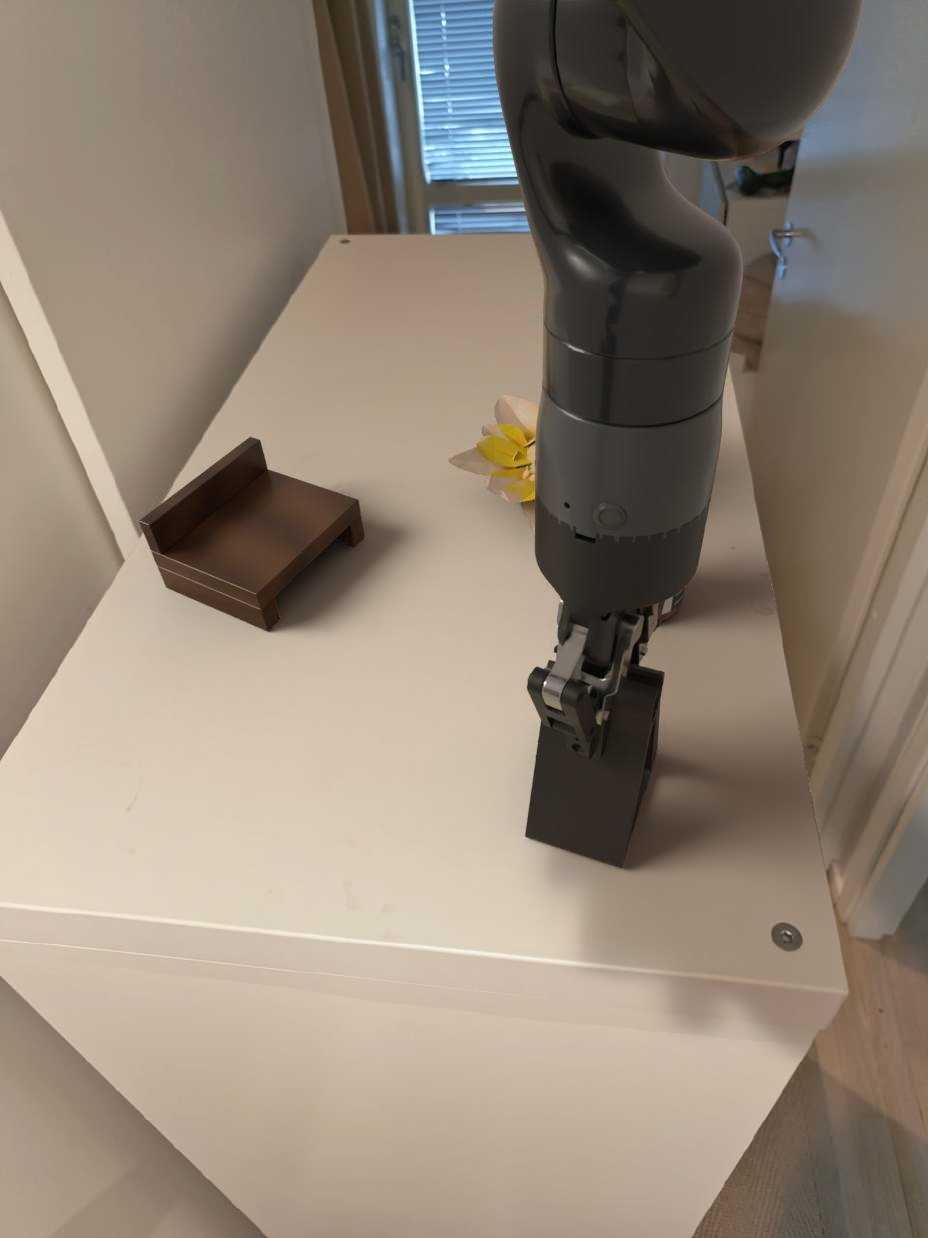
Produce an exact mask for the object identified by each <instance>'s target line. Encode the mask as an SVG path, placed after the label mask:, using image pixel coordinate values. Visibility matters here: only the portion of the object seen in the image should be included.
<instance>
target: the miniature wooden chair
mask: <svg viewBox="0 0 928 1238" xmlns="http://www.w3.org/2000/svg"><path fill="white" fill-rule="evenodd" d="M363 522H364V521H363V518H362V511H361V505H360V500H359V499H358V498H355V497H352V496H349V495H347V494H342V493H341V492H338V491H334V490H331V489H328V488H326V487H323V486H319V485H316V484H313V483H310V482H308V481H304V480H301V479H298V478H295V477H293V476H289V475H288V474H287V475H286V474H284V473H280V472H277V471H274V470H272V469H269V468H268V463H267V460H266V457H265V452H264V448H263V445H262V442H261V439H259V438H257V437H253V436H249V437H248V438H246V439H245V440H243V441H242V442H241V443H240V444H238V445H237V446H235V447H234V448H233V449H231V450H230V451H229V452H228V453H226V454H225V455H224V456H222V457H221V458H219V460H217V461H216V462H214V463H213V464H212V465H211V466H209V467H208V468H207V469H205V470H204V471H203V472H201V473H200V474H199V475H197V476H196V477H194V479H192V480H191V481H189V482H188V483H187V484H185V485H184V486H183V487H181V488H180V489H179V490H177V491H176V492H175V493H173V494H172V495H170V496H169V497H168V498H166V499H165V500H163V502H162V503H160V504H159V505H157V506H156V507H155V508H154V509H152V510H151V511H149V512H148V513H147V514H145V515H144V516H143V517H142V518H140V519H139V520H138V523H139V526H140V528H141V531H142V533H143V535H144V538H145V540H146V543H147V545H148V547H149V550H150V552H151V555H152V557H153V559H154V562H155V564H156V566H157V569H158V572H159V574H160V576H161V579H162V581H163V584H164V586H165V588H166V589H169V590H170V591H173V592H174V593H178V594H179V595H183V596H185V597H187V598H189V599H191V600H194V601H196V602H198V603H200V604H203V605H205V606H208V607H210V608H212V609H215V610H216V611H219V612H221V613H223V614H225V615H228V616H231V617H232V618H235V619H238V620H240V621H242V622H245V623H247V624H250V626H251V625H252V626H254V627H256V628H259V629H261V630H263V631H266V632H270V631H271V629H273V628H274V626H276V625H277V623H279V621H281V620H282V619H281V615H280V611H279V607H278V605H277V601H276V598H275V597H276V596H277V595H278V594H279V593H280V592H282V590H284V589H285V588H286V587H287V585H289V584H290V583H291V582H292V581H293V580H294V579H295V578H296V577H297V576H298V575H299V574H300V573H301V572H302V571H303V570H305V569H306V568H307V566H308V565H310V564H311V563H312V562H313V561H314V560H315V559H316V558H317V557H318V556H319V555H320V554H322V552H323V551H324V550H326V548H327V547H328V546H330V545H331V544H332V543H333V542H334V541H337V542H340V543H342V544H345V545H348V546H351V547H356V546H357V545H359V543H360V542H361V541H362V540H363V539H364V538H365V536H366V534H365V529H364V523H363Z"/></svg>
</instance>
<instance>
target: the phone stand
mask: <svg viewBox="0 0 928 1238" xmlns="http://www.w3.org/2000/svg"><path fill="white" fill-rule="evenodd" d="M557 648H558V644H556V645H555V646H554V648H553V653H555V654H557ZM555 662H556V660H553V659H552V660H551V659H548V661H547V664H546V667H547V668H550V669H552V668H553V666H554V664H555ZM608 667H612V665H611V664H610V665H608ZM665 675H666V673H665V671H662V670H658V669H654V668H651V667H646V666H643V665H640V664H639V665H635V664H631V663H630V664H629V668H628V673H627V678H626V680H625V682H624V683H623V684H622V686H621V687H620V689H619V690H618V691H617V693H616V694H615V695H613V698H612V703H611V708H610V712H611V713H610V716H609V723H608V733H607V742H606V749H605V751H604V753H603V755H602V757H601V758H600V760H592V759H591V760H588V759H586V758H584V757H581V756H579V755H577V754H574V753H572V752H570V751H567V750H566V746H565V744H564V736H565V733H564V732H562V731H559V730H557V729H554V728H549V727H547V726H545V725H543V723H542V721H541V720H540V723H539V724H540V725H539V731H538V739H537V745H536V754H535V762H534V767H533V774H532V775H533V776H532V782H531V789H530V795H529V796H530V797H529V804H528V811H527V819H526V825H525V833H524V837H525V838H528V839H530V840H533V841H535V842H539V843H543V844H545V845H548V846H550V847H551V846H552V847H554V848H557V849H561V850H564V851H567V852H570V853H573V854H576V855H579V856H582V857H586V858H588V859H592V860H595V861H598V862H599V863H600V862H601V863H603V864H607V865H610V866H612V867H616V868H619V869H623V865H624V862H625V858H626V855H627V852H628V849H629V846H630V842H631V839H632V836H633V832H634V829H635V826H636V822H637V819H638V816H639V812H640V808H641V806H642V802H643V800H644V796H645V793H646V790H647V786H648V783H649V780H650V776H651V774H652V770H653V766H654V764H655V761H656V758H657V757H656V756H657V752H658V745H659V732H660V731H659V729H660V714H661V713H660V712H661V700H662V699H661V698H662V694H663V693H662V692H663V688H664V682H665V677H666V676H665ZM589 695H590V696H593V697H595V698H597V692H596V690H595V689H593V688H592V691H591V693H590V694H589Z"/></svg>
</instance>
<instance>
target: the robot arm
mask: <svg viewBox="0 0 928 1238" xmlns="http://www.w3.org/2000/svg"><path fill="white" fill-rule="evenodd" d="M864 1H865V0H493V8H492V9H493V10H492V54H493V65H494V74H495V82H496V87H497V93H498V97H499V103H500V104H499V105H500V108H501V112H502V117H503V121H504V126H505V131H506V135H507V138H508V139H507V140H508V144H509V148H510V151H511V156H512V159H513V164H514V168H515V172H516V177H517V181H518V185H519V186H518V187H519V190H520V194H521V199H522V203H523V208H524V212H525V216H526V221H527V224H528V228H529V232H530V236H531V239H532V242H533V245H534V248H535V252H536V255H537V259H538V262H539V267H540V271H541V275H542V279H543V301H542V302H543V305H542V370H541V371H542V373H541V375H542V380H541V393H540V399H539V406H538V407H539V410H538V416H537V424H536V440H535V532H534V557H535V561H536V563H537V567H538V568H539V571H540V573H541V574H542V576H543V577H544V579H546V581H547V582H548V583H549V584H550V586H551V587H552V588H553V590H554V591H555V592H556V593H557V595H558V596H559V597H560V600H559V603H558V608H557V609H558V610H557V616H556V624H557V632H556V633H557V634H556V635H557V640H558V641H557V645H558V648H557V653H556V656H555V661H556V662H555V664H554V666H553V668H552V669H550V668H547V666H545V667H544V668H543V667H540V666H535V667H534V668H533V669H532V671H531V672H530V673H529V674H528V677H527V683H526V690H527V692H528V695H529V697H530V699H531V701H532V703H533V706H534V708H535V710H536V712H537V714H538V716H539V719H540V722H541V721H542V723H543V725H545V726H547V727H549V728H554V729H557V730H559V731H562V732H564V733H565V736H564V744H565V746H566V750H567V751H570V752H572V753H574V754H577V755H579V756H581V757H584V758H586V759H588V760H591V759H592V760H600V758H601V757H602V755H603V753H604V751H605V749H606V742H607V733H608V723H609V716H610V713H611V712H610V708H611V703H612V698H613V695H615V694H616V693H617V691H618V690H619V689H620V687H621V686H622V684H623V683H624V682H625V680H626V678H627V673H628V668H629V664H630V663H631V664H635V665H639V666H640V663H641V661H642V660H643V659H644V657H646V656H647V654H648V651H649V647H648V644H649V642H650V639H651V637H652V636H653V633H655V632H656V630H657V629H658V628H659V627H660V626H661V623H662V621H661V619H660V618H661V614H662V610H663V607H664V603H665V600H667V599H669V598H671V597H673V596H674V595H676V594H677V593H678V592H680V591H681V590H682V589H683V588H684V587H685V588H686V587H687V586H688V584H689V583H690V582H691V581H692V579H693V578H694V576H695V574H696V572H697V570H698V567H699V564H700V563H699V562H700V558H701V552H702V547H703V542H704V536H705V531H706V526H707V522H708V521H707V520H708V515H709V510H710V503H711V498H712V495H713V487H714V483H715V478H716V477H715V476H716V471H717V466H718V461H719V455H720V451H721V450H720V449H721V441H722V435H723V405H724V404H723V403H724V392H725V385H726V379H727V374H728V368H729V363H730V358H731V352H732V347H733V346H732V345H733V341H734V335H735V329H736V324H737V319H738V313H739V307H740V302H741V295H742V290H743V289H742V288H743V283H744V282H743V281H744V270H745V269H744V256H743V251H742V248H741V246H740V244H739V242H738V240H737V237H736V236H735V235H734V233H733V232H732V231H731V230H730V229H729V228H728V227H727V226H726V225H725V224H723V223H722V222H721V221H719V220H718V219H716V218H715V217H714V216H712V215H710V214H709V213H708V212H706V211H705V210H703V209H702V208H701V207H699V206H697V205H696V203H694V202H692V201H691V200H689V199H688V198H687V197H686V196H684V195H683V194H682V193H681V192H680V191H678V189H677V187H675V185H674V184H673V183H672V181H671V180H670V179H669V177H668V175H667V172H666V168H665V163H664V160H663V156H662V152H666V153H668V154H673V155H677V156H682V157H686V158H690V159H695V160H699V161H708V162H735V161H736V162H737V161H744V160H747V159H751V158H754V157H755V158H756V157H758V156H761V155H763V154H765V153H767V152H770V151H772V150H773V149H775V148H777V147H779V146H781V145H783V144H784V143H785V142H786V141H788V140H790V139H791V138H792V137H793V136H795V135H796V134H797V133H798V132H800V130H801V129H803V128H804V127H805V126H806V124H807V123H809V121H810V120H811V119H812V118H813V117H814V116H815V115H817V114H818V112H819V111H820V109H821V108H822V107H823V106H824V105H825V103H826V101H827V100H828V99H829V97H830V96H831V94H832V91H833V90H834V89H835V86H836V85H837V84H838V81H839V79H840V78H841V76H842V73H844V70H845V68H846V66H847V63H848V61H849V58H850V56H851V53H852V50H853V48H854V45H855V42H856V38H857V35H858V31H859V27H860V23H861V19H862V14H863V10H864V9H863V8H864V3H865V2H864ZM610 664H611V665H612V667H608V665H610ZM592 688H593V689H595V690H596V692H597V698H595V697H593V696H590V695H589V694H590V693H591V691H592Z"/></svg>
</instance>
